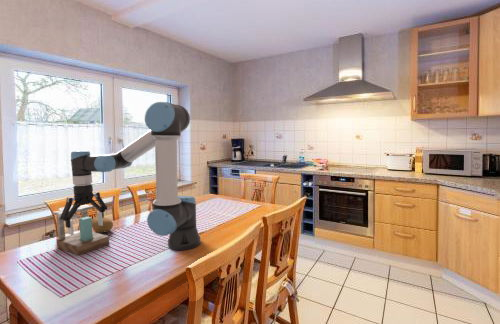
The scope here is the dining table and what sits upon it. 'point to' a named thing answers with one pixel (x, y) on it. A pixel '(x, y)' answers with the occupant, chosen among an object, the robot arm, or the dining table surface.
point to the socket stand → (78, 236)
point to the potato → (105, 228)
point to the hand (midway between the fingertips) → (86, 229)
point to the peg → (85, 228)
